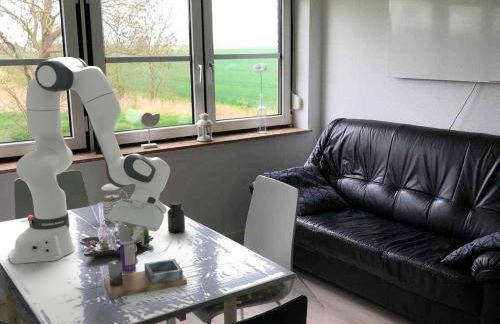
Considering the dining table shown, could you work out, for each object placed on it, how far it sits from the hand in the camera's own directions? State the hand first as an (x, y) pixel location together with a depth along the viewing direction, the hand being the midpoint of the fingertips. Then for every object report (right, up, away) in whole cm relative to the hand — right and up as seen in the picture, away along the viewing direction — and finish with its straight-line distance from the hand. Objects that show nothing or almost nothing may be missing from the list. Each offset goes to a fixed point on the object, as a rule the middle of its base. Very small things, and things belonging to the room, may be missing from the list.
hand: (125, 237), depth 177 cm
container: (0, -12, +3) cm, 12 cm away
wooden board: (+8, -14, -6) cm, 17 cm away
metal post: (0, -13, -10) cm, 17 cm away
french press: (-18, +1, +57) cm, 60 cm away
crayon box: (-1, -6, +28) cm, 29 cm away
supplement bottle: (+12, -3, +40) cm, 41 cm away
